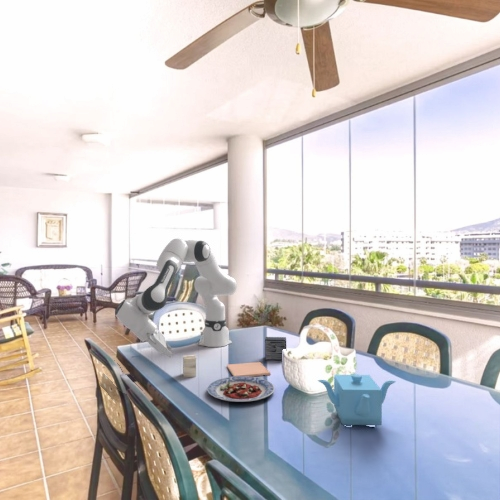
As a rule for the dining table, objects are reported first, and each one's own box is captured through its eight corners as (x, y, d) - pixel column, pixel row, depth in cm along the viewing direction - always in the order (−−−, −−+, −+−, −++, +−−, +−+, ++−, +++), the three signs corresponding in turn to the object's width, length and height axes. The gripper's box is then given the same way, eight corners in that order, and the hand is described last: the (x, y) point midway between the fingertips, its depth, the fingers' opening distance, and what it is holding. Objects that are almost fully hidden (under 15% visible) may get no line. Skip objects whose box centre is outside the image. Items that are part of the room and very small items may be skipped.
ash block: (183, 373, 172) (183, 355, 172) (194, 372, 173) (194, 354, 173) (184, 377, 167) (184, 359, 167) (196, 376, 168) (195, 358, 168)
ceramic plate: (288, 392, 151) (288, 384, 151) (241, 413, 132) (241, 404, 132) (240, 377, 168) (240, 370, 168) (193, 393, 150) (193, 386, 150)
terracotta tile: (226, 366, 181) (226, 364, 181) (259, 364, 185) (259, 361, 185) (234, 378, 166) (234, 375, 166) (270, 374, 170) (270, 372, 170)
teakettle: (347, 404, 139) (347, 363, 139) (398, 421, 125) (398, 375, 125) (315, 421, 126) (315, 375, 126) (368, 442, 112) (368, 391, 112)
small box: (286, 357, 197) (286, 336, 196) (286, 361, 190) (286, 339, 190) (265, 356, 198) (265, 336, 197) (264, 360, 191) (264, 339, 191)
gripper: (153, 331, 156) (178, 353, 158) (152, 321, 175) (174, 341, 178) (141, 342, 155) (166, 365, 157) (142, 331, 174) (164, 351, 177)
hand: (171, 352), depth 168 cm, fingers open, 8 cm apart
